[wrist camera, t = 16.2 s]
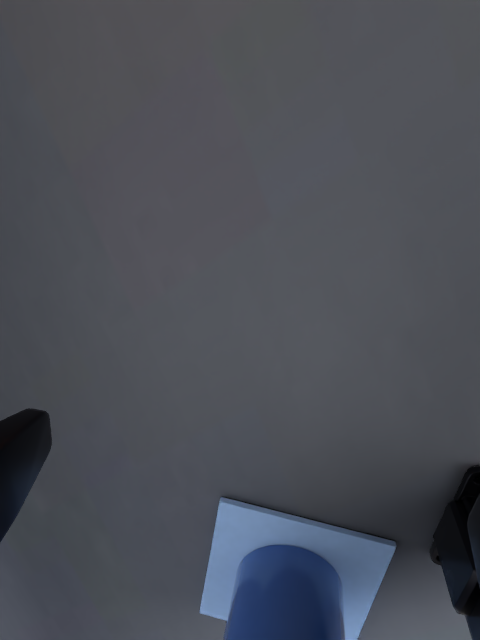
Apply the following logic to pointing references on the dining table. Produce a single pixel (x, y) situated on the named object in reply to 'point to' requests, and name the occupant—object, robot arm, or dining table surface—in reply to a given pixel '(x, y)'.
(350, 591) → the blue mat
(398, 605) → the dining table surface
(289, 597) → the blue tumbler
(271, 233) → the dining table surface
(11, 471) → the robot arm
